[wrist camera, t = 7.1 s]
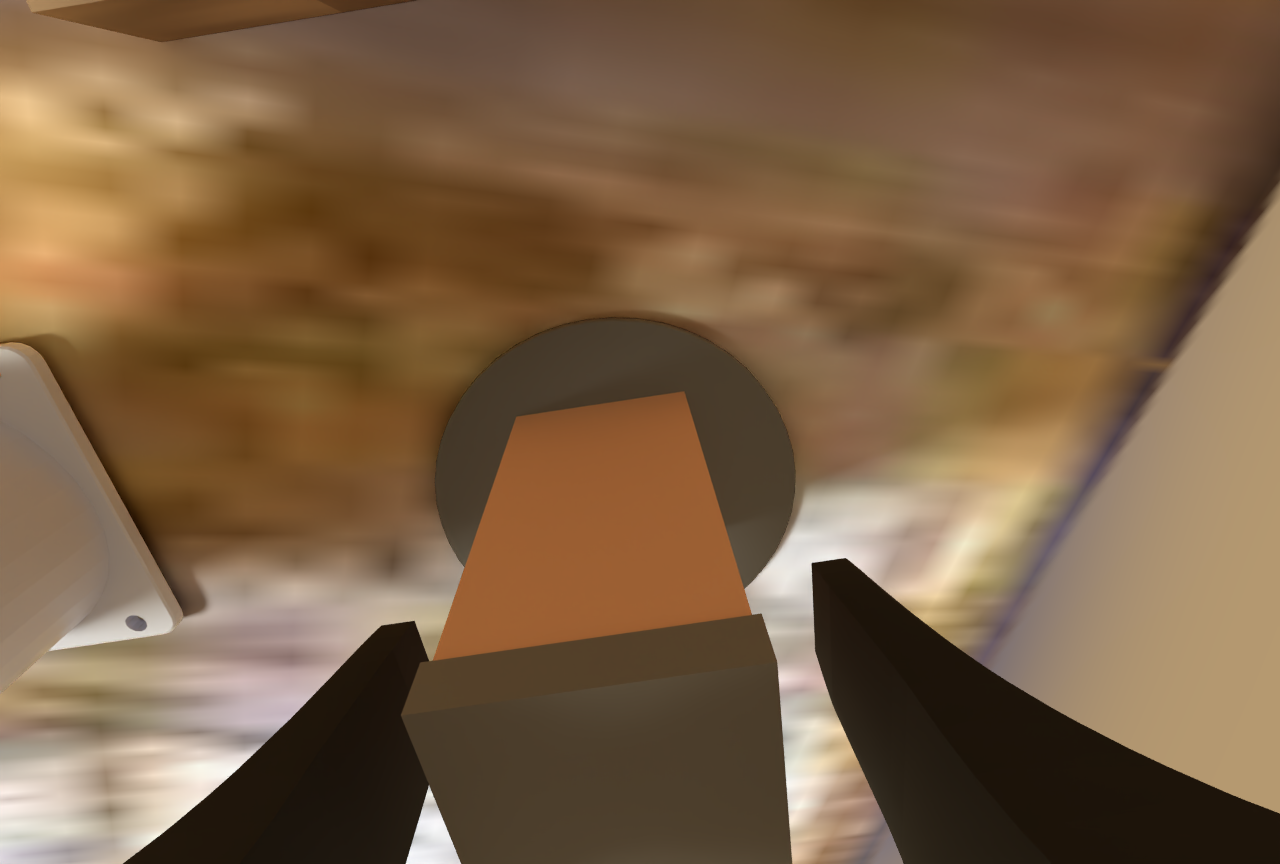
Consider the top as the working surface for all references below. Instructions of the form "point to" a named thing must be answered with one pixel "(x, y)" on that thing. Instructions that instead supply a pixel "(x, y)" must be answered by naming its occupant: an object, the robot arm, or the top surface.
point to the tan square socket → (191, 14)
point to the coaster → (615, 371)
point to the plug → (604, 660)
